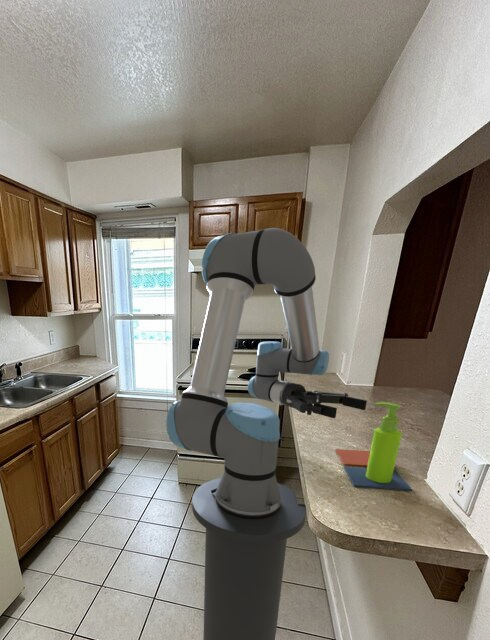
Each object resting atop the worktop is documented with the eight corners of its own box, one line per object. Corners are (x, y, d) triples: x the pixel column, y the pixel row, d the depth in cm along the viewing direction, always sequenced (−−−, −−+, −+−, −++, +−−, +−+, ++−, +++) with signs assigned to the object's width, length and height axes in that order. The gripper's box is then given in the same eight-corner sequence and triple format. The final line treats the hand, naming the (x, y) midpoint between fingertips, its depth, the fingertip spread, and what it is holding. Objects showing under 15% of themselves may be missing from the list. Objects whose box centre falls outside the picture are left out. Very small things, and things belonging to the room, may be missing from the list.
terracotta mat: (344, 465, 101) (344, 463, 101) (335, 450, 111) (335, 449, 111) (394, 468, 99) (394, 467, 98) (380, 453, 109) (381, 451, 108)
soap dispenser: (366, 469, 97) (380, 399, 90) (394, 477, 92) (411, 404, 85) (357, 476, 94) (371, 403, 87) (386, 485, 89) (403, 409, 82)
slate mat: (354, 486, 90) (354, 484, 89) (343, 468, 100) (344, 466, 99) (411, 491, 87) (412, 489, 87) (395, 471, 97) (395, 470, 97)
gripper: (312, 399, 120) (374, 414, 103) (259, 411, 108) (319, 430, 91) (315, 378, 118) (379, 389, 101) (261, 387, 106) (323, 402, 89)
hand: (351, 409), depth 96 cm, fingers open, 13 cm apart
